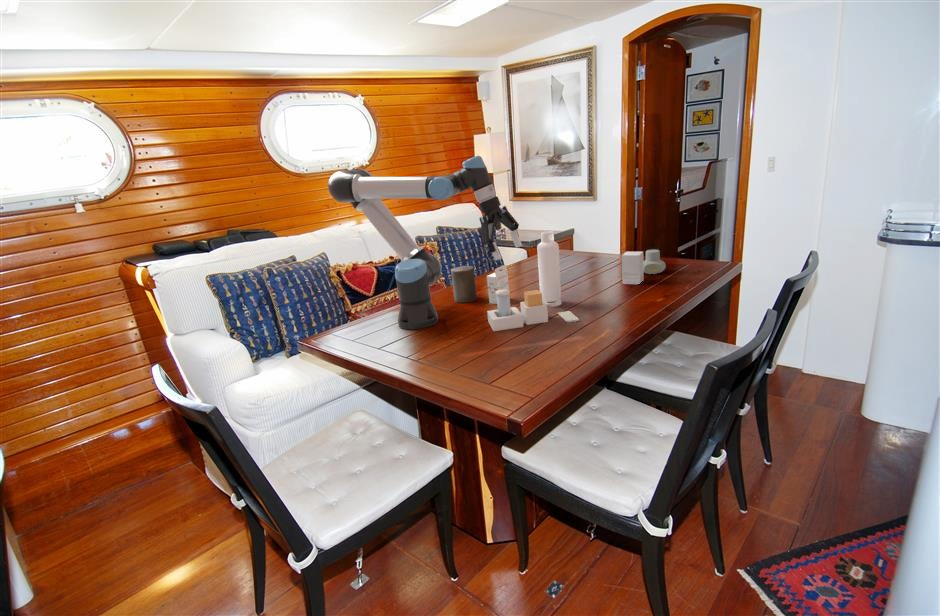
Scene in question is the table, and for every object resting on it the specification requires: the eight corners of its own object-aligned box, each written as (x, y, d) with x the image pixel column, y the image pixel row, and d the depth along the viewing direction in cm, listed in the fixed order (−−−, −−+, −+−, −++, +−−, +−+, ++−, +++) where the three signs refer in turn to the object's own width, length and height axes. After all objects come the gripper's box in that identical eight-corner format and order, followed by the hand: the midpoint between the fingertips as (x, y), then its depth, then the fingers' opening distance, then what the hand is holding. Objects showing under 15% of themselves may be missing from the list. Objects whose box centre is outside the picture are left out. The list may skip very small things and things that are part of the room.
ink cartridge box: (500, 297, 203) (497, 263, 198) (510, 298, 200) (507, 264, 195) (488, 303, 196) (485, 268, 192) (498, 304, 193) (495, 269, 189)
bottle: (552, 308, 182) (548, 235, 174) (536, 304, 188) (531, 233, 180) (565, 302, 187) (562, 231, 178) (550, 299, 193) (546, 230, 184)
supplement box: (644, 280, 205) (644, 251, 201) (639, 285, 199) (639, 255, 195) (626, 279, 209) (626, 251, 205) (621, 284, 203) (621, 254, 199)
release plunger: (529, 317, 166) (527, 295, 163) (525, 313, 170) (523, 291, 168) (543, 315, 166) (541, 293, 164) (539, 311, 171) (537, 289, 169)
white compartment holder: (493, 333, 163) (492, 314, 161) (488, 324, 173) (486, 305, 170) (549, 325, 165) (548, 306, 163) (541, 316, 175) (539, 298, 172)
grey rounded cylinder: (500, 327, 165) (497, 293, 162) (497, 322, 170) (494, 290, 166) (513, 325, 166) (510, 292, 162) (510, 320, 170) (507, 288, 167)
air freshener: (639, 275, 213) (639, 253, 210) (639, 270, 220) (639, 249, 217) (666, 274, 209) (666, 252, 206) (665, 270, 217) (665, 248, 214)
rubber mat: (551, 325, 165) (551, 323, 165) (543, 316, 174) (543, 314, 174) (579, 321, 166) (579, 319, 166) (569, 312, 175) (569, 310, 175)
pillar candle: (480, 299, 202) (476, 265, 198) (458, 304, 199) (454, 269, 195) (471, 295, 211) (468, 261, 207) (451, 299, 208) (447, 265, 204)
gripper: (473, 206, 164) (496, 263, 168) (514, 187, 180) (534, 239, 185) (458, 211, 169) (481, 267, 174) (499, 193, 186) (519, 243, 190)
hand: (509, 253), depth 179 cm, fingers open, 13 cm apart
